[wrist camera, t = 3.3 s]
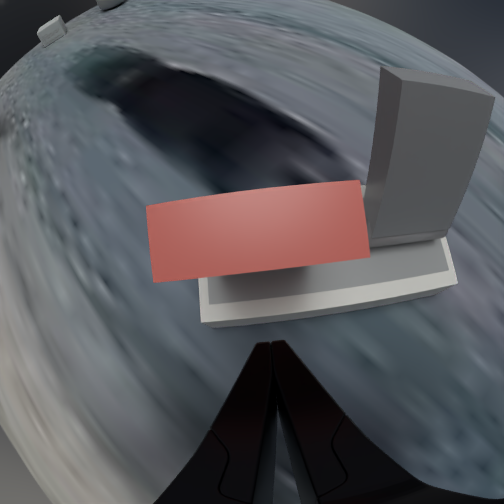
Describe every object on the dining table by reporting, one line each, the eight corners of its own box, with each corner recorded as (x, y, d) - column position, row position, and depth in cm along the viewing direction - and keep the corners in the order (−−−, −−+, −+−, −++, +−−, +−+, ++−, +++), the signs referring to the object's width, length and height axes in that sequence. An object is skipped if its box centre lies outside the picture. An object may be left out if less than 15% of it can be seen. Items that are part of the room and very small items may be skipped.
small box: (67, 28, 41) (60, 13, 37) (66, 34, 40) (58, 19, 35) (46, 41, 41) (39, 27, 36) (44, 48, 39) (35, 33, 34)
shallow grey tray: (435, 294, 17) (458, 283, 14) (212, 328, 18) (200, 322, 15) (410, 203, 20) (426, 181, 17) (206, 224, 20) (196, 202, 17)
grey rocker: (441, 244, 15) (495, 97, 8) (367, 255, 15) (402, 79, 8) (429, 222, 16) (470, 81, 9) (357, 230, 16) (380, 66, 9)
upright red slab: (308, 254, 16) (370, 257, 6) (215, 265, 16) (153, 282, 7) (305, 221, 16) (359, 179, 6) (212, 232, 16) (145, 205, 7)
